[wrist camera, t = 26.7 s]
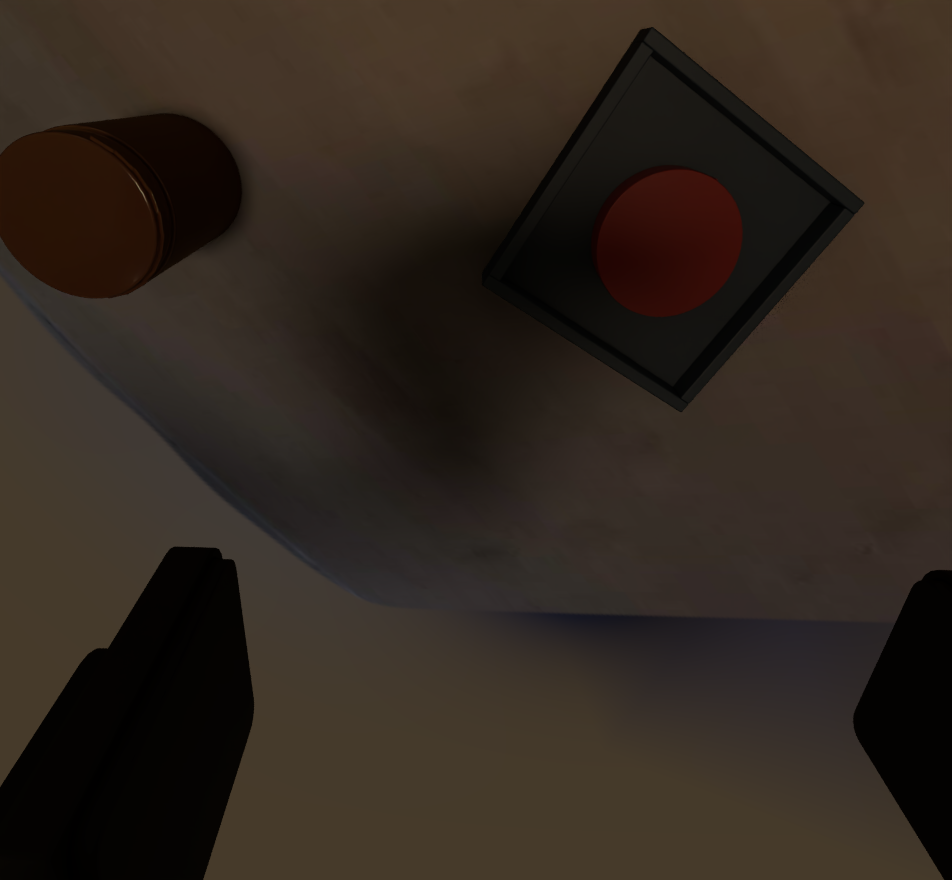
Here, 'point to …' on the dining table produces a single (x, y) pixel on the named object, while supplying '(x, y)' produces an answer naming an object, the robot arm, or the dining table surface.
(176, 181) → the jar
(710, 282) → the jar lid
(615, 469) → the dining table surface
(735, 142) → the tray
